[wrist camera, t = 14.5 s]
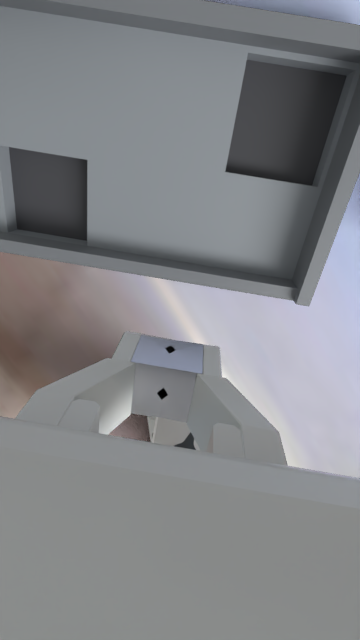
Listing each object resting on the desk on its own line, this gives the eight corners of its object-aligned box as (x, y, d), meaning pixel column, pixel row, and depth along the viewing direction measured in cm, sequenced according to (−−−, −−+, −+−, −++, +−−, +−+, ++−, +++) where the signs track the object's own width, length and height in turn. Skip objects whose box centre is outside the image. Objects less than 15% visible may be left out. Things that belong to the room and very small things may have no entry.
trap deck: (294, 285, 41) (309, 306, 35) (-105, 219, 41) (-157, 228, 35) (374, 53, 29) (414, 27, 24) (-176, -34, 30) (-268, -80, 24)
